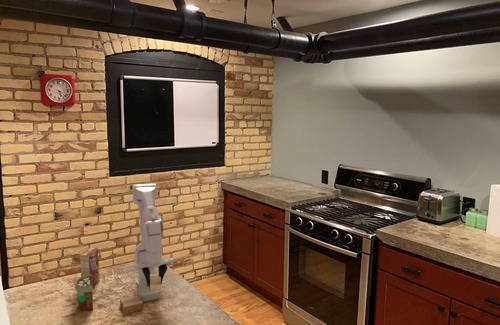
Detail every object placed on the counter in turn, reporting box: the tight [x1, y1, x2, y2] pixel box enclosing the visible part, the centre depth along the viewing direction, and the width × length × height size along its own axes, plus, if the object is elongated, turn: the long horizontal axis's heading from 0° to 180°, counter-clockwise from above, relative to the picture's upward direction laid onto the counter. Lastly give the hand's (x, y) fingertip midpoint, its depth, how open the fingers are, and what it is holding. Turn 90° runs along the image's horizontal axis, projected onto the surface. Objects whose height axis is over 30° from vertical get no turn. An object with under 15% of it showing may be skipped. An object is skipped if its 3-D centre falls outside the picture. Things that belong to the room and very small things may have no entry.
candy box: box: [79, 247, 101, 289], centre depth 162 cm, size 9×4×15 cm, turn 177°
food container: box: [74, 274, 94, 312], centre depth 144 cm, size 12×6×10 cm, turn 23°
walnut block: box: [119, 294, 144, 314], centre depth 144 cm, size 7×7×3 cm
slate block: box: [137, 286, 161, 303], centre depth 153 cm, size 7×7×3 cm
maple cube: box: [148, 273, 162, 292], centre depth 146 cm, size 4×4×5 cm
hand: (154, 284), depth 146 cm, fingers closed on maple cube, 4 cm apart
